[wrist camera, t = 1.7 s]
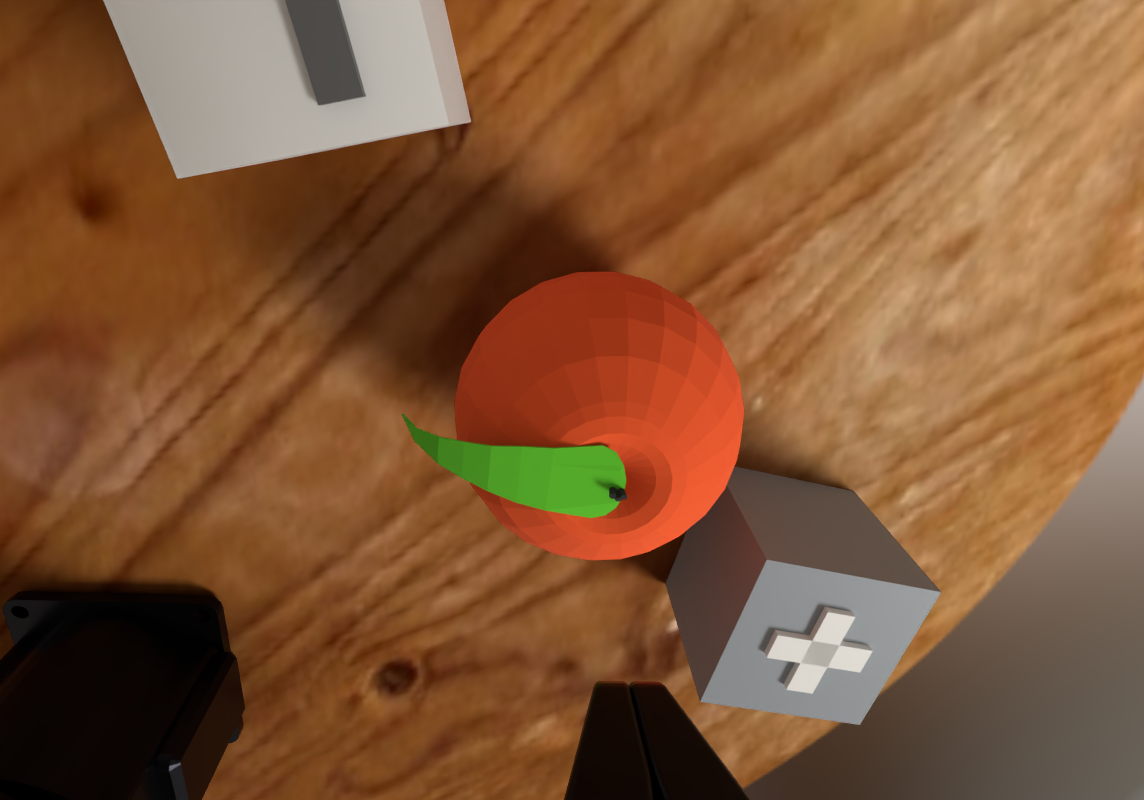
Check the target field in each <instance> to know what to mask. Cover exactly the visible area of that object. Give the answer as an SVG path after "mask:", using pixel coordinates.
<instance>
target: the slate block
mask: <svg viewBox="0 0 1144 800" xmlns="http://www.w3.org/2000/svg"><path fill="white" fill-rule="evenodd" d="M666 587H667V591H668V594H669V597H670V601H671V604H672V608H673V611H674V614H675V618H676V621H677V625H678V628H679V631H680V635H681V638H682V642H683V645H684V649H685V652H686V655H687V659H688V662H689V666H690V669H691V672H692V676H693V679H694V683H695V686H696V689H697V693H698V696H699V700H700V702H705V703H712V704H719V705H726V706H733V707H740V708H747V709H754V710H761V711H768V712H775V713H782V714H789V715H796V716H802V717H809V718H816V719H823V720H830V721H837V722H844V723H851V724H859V725H860V723H861V722H862V720H863V718H864V717H865V715H866V713H867V712H868V710H869V709H870V707H871V705H872V704H873V702H874V701H875V699H876V697H877V696H878V694H879V693H880V691H881V689H882V688H883V686H884V684H885V683H886V681H887V680H888V678H889V676H890V675H891V673H892V671H893V670H894V668H895V667H896V665H897V663H898V662H899V660H900V658H901V657H902V655H903V654H904V652H905V650H906V649H907V647H908V645H909V644H910V642H911V641H912V639H913V637H914V636H915V634H916V632H917V631H918V629H919V628H920V626H921V624H922V623H923V621H924V619H925V618H926V616H927V615H928V613H929V611H930V610H931V608H932V606H933V605H934V603H935V602H936V600H937V598H938V597H939V595H940V593H941V591H940V590H939V589H938V588H937V587H936V586H935V584H934V583H933V582H932V581H931V580H930V579H929V577H928V576H927V575H926V574H925V573H924V572H923V570H922V569H921V568H920V567H919V566H918V565H917V564H916V562H915V561H914V560H913V559H912V558H911V557H910V555H909V554H908V553H907V552H906V551H905V550H904V549H903V547H902V546H901V545H900V544H899V543H898V542H897V540H896V539H895V538H894V537H893V536H892V535H891V534H890V532H889V531H888V530H887V529H886V528H885V527H884V525H883V524H882V523H881V522H880V521H879V520H878V519H877V517H876V516H875V515H874V514H873V513H872V512H871V510H870V509H869V508H868V507H867V506H866V505H865V504H864V502H863V501H862V500H861V499H860V498H859V497H858V495H857V494H856V493H855V492H854V491H850V490H845V489H841V488H836V487H831V486H826V485H822V484H817V483H812V482H807V481H802V480H798V479H793V478H788V477H783V476H779V475H774V474H769V473H764V472H759V471H755V470H750V469H745V468H740V467H735V466H734V468H733V471H732V473H731V476H730V478H729V480H728V483H727V485H726V488H725V490H724V491H723V492H722V494H721V495H720V496H719V498H718V499H717V500H716V502H715V503H714V504H713V506H712V507H711V508H710V510H709V511H708V512H707V514H706V515H705V516H703V517H702V518H701V519H700V520H699V521H697V522H696V523H695V524H694V525H693V526H691V527H690V528H689V529H688V530H687V532H686V534H685V537H684V539H683V542H682V544H681V547H680V549H679V552H678V554H677V556H676V559H675V561H674V564H673V566H672V569H671V571H670V574H669V576H668V579H667V581H666Z"/></svg>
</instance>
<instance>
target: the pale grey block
mask: <svg viewBox="0 0 1144 800" xmlns="http://www.w3.org/2000/svg"><path fill="white" fill-rule="evenodd" d="M103 1H104V3H105V6H106V8H107V10H108V13H109V15H110V18H111V20H112V22H113V25H114V27H115V30H116V32H117V34H118V37H119V39H120V42H121V44H122V46H123V49H124V51H125V54H126V56H127V58H128V61H129V63H130V66H131V68H132V70H133V73H134V75H135V78H136V80H137V83H138V85H139V87H140V90H141V92H142V95H143V97H144V99H145V102H146V104H147V107H148V109H149V111H150V114H151V116H152V119H153V121H154V123H155V126H156V128H157V131H158V133H159V135H160V138H161V140H162V143H163V145H164V147H165V150H166V152H167V155H168V157H169V159H170V162H171V164H172V167H173V169H174V172H175V174H176V176H177V179H179V178H184V177H190V176H195V175H201V174H206V173H212V172H217V171H223V170H228V169H234V168H239V167H245V166H250V165H256V164H261V163H267V162H272V161H277V160H282V159H287V158H293V157H298V156H303V155H308V154H313V153H318V152H323V151H328V150H333V149H338V148H343V147H348V146H353V145H358V144H363V143H368V142H373V141H378V140H384V139H389V138H394V137H399V136H404V135H409V134H414V133H419V132H424V131H429V130H434V129H439V128H444V127H449V126H454V125H459V124H464V123H469V122H471V119H470V115H469V110H468V106H467V101H466V97H465V92H464V88H463V83H462V79H461V75H460V70H459V66H458V61H457V57H456V52H455V48H454V44H453V39H452V35H451V30H450V26H449V21H448V17H447V12H446V8H445V4H444V0H103Z"/></svg>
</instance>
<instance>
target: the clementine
mask: <svg viewBox="0 0 1144 800" xmlns="http://www.w3.org/2000/svg"><path fill="white" fill-rule="evenodd" d="M454 407H455V421H456V432H457V440H454V439H449V438H443V437H439V436H437V435H434V434H431V433H429V432H426V431H423V430H421V429H418V428H416V426H415V425H414V424H413V423H412V422H411V421H410V420H409V419H408V418H407V417H406V416H405V415H404V414H402V416H403V418H404V420H405V422H406V424H407V426H408V428H409V431H410V433H411V435H412V437H413V439H414V441H415V442H416V443H417V444H418V445H419V446H420V447H421V448H422V449H423V450H424V451H425V452H426V453H427V454H428V455H429V456H431V457H432V458H433V459H434V460H435V461H436V462H437V463H438V464H440V465H441V466H443V467H444V468H446V469H448V470H449V471H451V472H453V473H454V474H456V475H458V476H459V477H461V478H463V479H465V480H467V481H469V482H470V484H471V485H472V487H473V488H474V489H475V491H476V492H477V493H478V495H479V496H480V497H481V498H482V500H483V501H484V502H485V504H486V505H487V506H488V507H489V509H490V510H491V511H492V513H493V514H494V515H495V516H496V518H497V519H498V520H499V522H500V523H501V524H503V525H504V526H505V527H507V528H508V529H509V530H511V531H512V532H513V533H515V534H516V535H517V536H519V537H520V538H521V539H523V540H524V541H525V542H527V543H530V544H532V545H534V546H537V547H539V548H541V549H544V550H546V551H548V552H551V553H553V554H556V555H562V556H568V557H574V558H579V559H585V560H611V559H623V558H627V557H631V556H635V555H639V554H643V553H647V552H650V551H652V550H654V549H656V548H657V547H659V546H661V545H663V544H665V543H667V542H669V541H671V540H673V539H675V538H677V537H679V536H680V535H682V534H683V533H684V532H685V531H686V530H688V529H689V528H690V527H691V526H693V525H694V524H695V523H696V522H697V521H699V520H700V519H701V518H702V517H703V516H705V515H706V514H707V512H708V511H709V510H710V508H711V507H712V506H713V504H714V503H715V502H716V500H717V499H718V498H719V496H720V495H721V494H722V492H723V491H724V490H725V488H726V485H727V483H728V480H729V478H730V476H731V473H732V471H733V468H734V466H735V464H736V461H737V458H738V453H739V448H740V443H741V435H742V426H743V418H744V406H743V400H742V394H741V388H740V382H739V377H738V374H737V372H736V370H735V367H734V365H733V363H732V360H731V358H730V356H729V354H728V352H727V350H726V348H725V346H724V344H723V342H722V341H721V339H720V337H719V335H718V333H717V331H716V329H715V328H714V327H713V326H712V325H711V324H710V323H709V322H708V321H707V320H706V319H705V318H704V317H703V316H702V315H701V314H700V313H699V312H698V311H697V309H696V308H695V307H694V306H693V305H692V304H690V303H689V302H687V301H685V300H683V299H682V298H680V297H678V296H677V295H675V294H673V293H671V292H670V291H668V290H666V289H664V288H663V287H661V286H659V285H657V284H655V283H653V282H651V281H649V280H646V279H642V278H638V277H634V276H630V275H626V274H622V273H618V272H576V273H572V274H569V275H565V276H562V277H558V278H555V279H551V280H548V281H544V282H541V283H539V284H538V285H536V286H534V287H533V288H531V289H529V290H528V291H526V292H524V293H523V294H521V295H519V296H518V297H516V298H514V299H513V300H511V301H510V302H509V303H508V304H507V305H506V306H505V307H504V308H503V309H502V310H501V311H500V312H499V313H498V314H497V315H496V316H495V317H494V318H493V319H492V320H491V321H490V322H489V323H488V324H487V325H486V326H485V328H484V329H483V330H482V332H481V333H480V335H479V336H478V338H477V340H476V342H475V344H474V345H473V347H472V349H471V351H470V353H469V355H468V357H467V358H466V360H465V362H464V364H463V366H462V368H461V372H460V377H459V382H458V387H457V391H456V396H455V401H454Z"/></svg>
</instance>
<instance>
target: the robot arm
mask: <svg viewBox="0 0 1144 800" xmlns="http://www.w3.org/2000/svg"><path fill="white" fill-rule="evenodd" d="M202 610H205V611H207V612H208V613H205V612H203V611H202ZM3 613H4V616H5V619H6V622H7V624H8V627H9V630H10V633H11V636H12V639H13V641H14V644H15V645H14V646H13V647H12V648H11V649H10V650H9V652H8V653H7V654H6V655H5V656H4V657H3V658H2V659H1V660H0V800H202V798H203V796H204V794H205V792H206V790H207V787H208V785H209V783H210V781H211V779H212V777H213V775H214V773H215V771H216V768H217V766H218V764H219V762H220V760H221V758H222V756H223V754H224V751H225V749H226V747H227V745H228V743H233V742H235V741H236V740H237V739H238V738H239V735H240V733H241V731H242V729H243V720H242V713H243V711H244V709H245V705H244V699H243V693H242V687H241V681H240V675H239V669H238V663H237V658H236V657H235V655H234V654H233V652H231V650H230V644H229V639H228V633H227V627H226V621H225V615H224V610H223V606H222V604H221V602H220V601H219V600H218V599H216V598H214V597H212V596H207V595H176V594H130V593H83V592H37V591H23V592H18V593H16V594H15V595H13V596H12V597H11V598H10V599H9V600H8V601H7V602H6V603H5V604H4V606H3ZM564 800H751V799H750V798H749V797H748V795H747V794H746V793H745V791H744V790H743V789H742V787H741V786H740V785H739V783H738V782H737V781H736V779H735V778H734V777H733V775H732V774H731V773H730V771H729V770H728V769H727V767H726V766H725V765H724V763H723V762H722V761H721V759H720V758H719V757H718V755H717V754H716V753H715V751H714V750H713V749H712V748H711V746H710V745H709V744H708V742H707V741H706V740H705V738H704V737H703V736H702V734H701V733H700V732H699V730H698V729H697V728H696V726H695V725H694V724H693V722H692V721H691V720H690V718H689V717H688V716H687V714H686V713H685V712H684V710H683V709H682V708H681V706H680V705H679V704H678V703H677V701H676V700H675V699H674V697H673V696H672V695H671V693H670V692H669V691H668V689H667V688H666V687H665V686H664V685H663V684H662V683H660V682H638V681H634V682H631V683H630V684H629V686H628V685H627V683H625V682H623V681H598V682H597V683H596V684H595V685H594V688H593V691H592V695H591V699H590V703H589V707H588V710H587V714H586V718H585V722H584V726H583V729H582V733H581V737H580V741H579V745H578V748H577V752H576V756H575V760H574V764H573V767H572V771H571V775H570V779H569V783H568V786H567V790H566V794H565V798H564Z"/></svg>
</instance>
